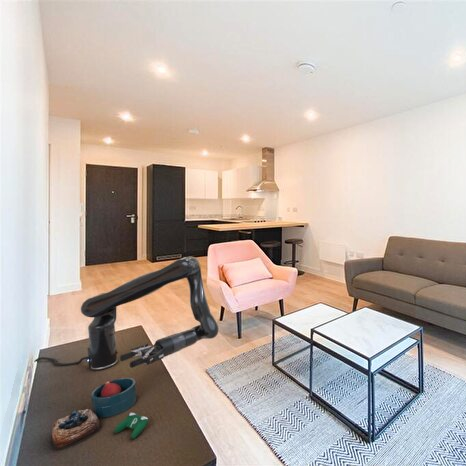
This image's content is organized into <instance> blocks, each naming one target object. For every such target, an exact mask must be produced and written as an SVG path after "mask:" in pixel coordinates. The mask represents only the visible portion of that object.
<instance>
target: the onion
mask: <svg viewBox="0 0 466 466" xmlns="http://www.w3.org/2000/svg"><path fill="white" fill-rule="evenodd" d="M109 381H110V380H108V381H106V382H105V383H106V384H105V383H104V384H105V386H104V387H103V389H102V391H101V397H109V396H113V395H116V394H119V393H121V387H120V386H119V385H118V384H116V383H110V382H109Z"/></svg>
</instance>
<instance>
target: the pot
mask: <svg viewBox="0 0 466 466" xmlns="http://www.w3.org/2000/svg"><path fill="white" fill-rule="evenodd" d="M108 381H109V382H110V383H116V384H118V385H119V386H120V387H121V393H119V394H116V395H113V396H109V397H101V391H102V389H103V387H104V386H105V384H106V382H105V383H102V384H100V385H98V386H97V387H96V388H95V389H94V390H93V391H92V392H91V410H92V411H93V412H94V413H95V414H96V416H97V417H98V419H99V418H103V419H104V418H110V417H113V416H116V415H119V414H121V413H123V412H125V411H127V410H129V409H130V408H131V407H133V406H134V404H136V402H137V385H136V383H137V382H136V379H135V378H132V377H119V378H116V379H113V380H108Z"/></svg>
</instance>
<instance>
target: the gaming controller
mask: <svg viewBox="0 0 466 466" xmlns="http://www.w3.org/2000/svg"><path fill="white" fill-rule="evenodd" d="M148 422H149V418H148V417H147V416H144V415H141V414H137V413H135V412H129V414H128V415H127V416H126V417H125V418H124V419H123V420H121V422H119V424H117V425H116V427H115V428H114V433H116V434H118V433H120V432H122V431H123V430H125V429H127V428H129V429H131V430H132V432H131V435H130V439H133V440H134V439H136V438H137V437H138V436H139V435H140V434H141V433H142V432H143V430H144V429H145V428H146V426H147V425H148Z"/></svg>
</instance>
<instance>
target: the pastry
mask: <svg viewBox="0 0 466 466" xmlns="http://www.w3.org/2000/svg"><path fill="white" fill-rule="evenodd" d="M99 430H100V420H99V417H97V416H96V414H95V413H94V412H93V409H91V408H86V409H78V410H73V411H72V412H71V413H70V414H69V415H66V416H65V417H61V418H58V420H55V421H53V426H52V428H51V432H50V433H51V434H50V435H51V440H52V445H53V447H54V449H56V450H61V449H65V448H69V447H71V446H74V445H76V444H79V443H81V442H83V441H84V440H86V439H88V438H90V437H92V436H93V435H94V434H96V433H98V432H99Z"/></svg>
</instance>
